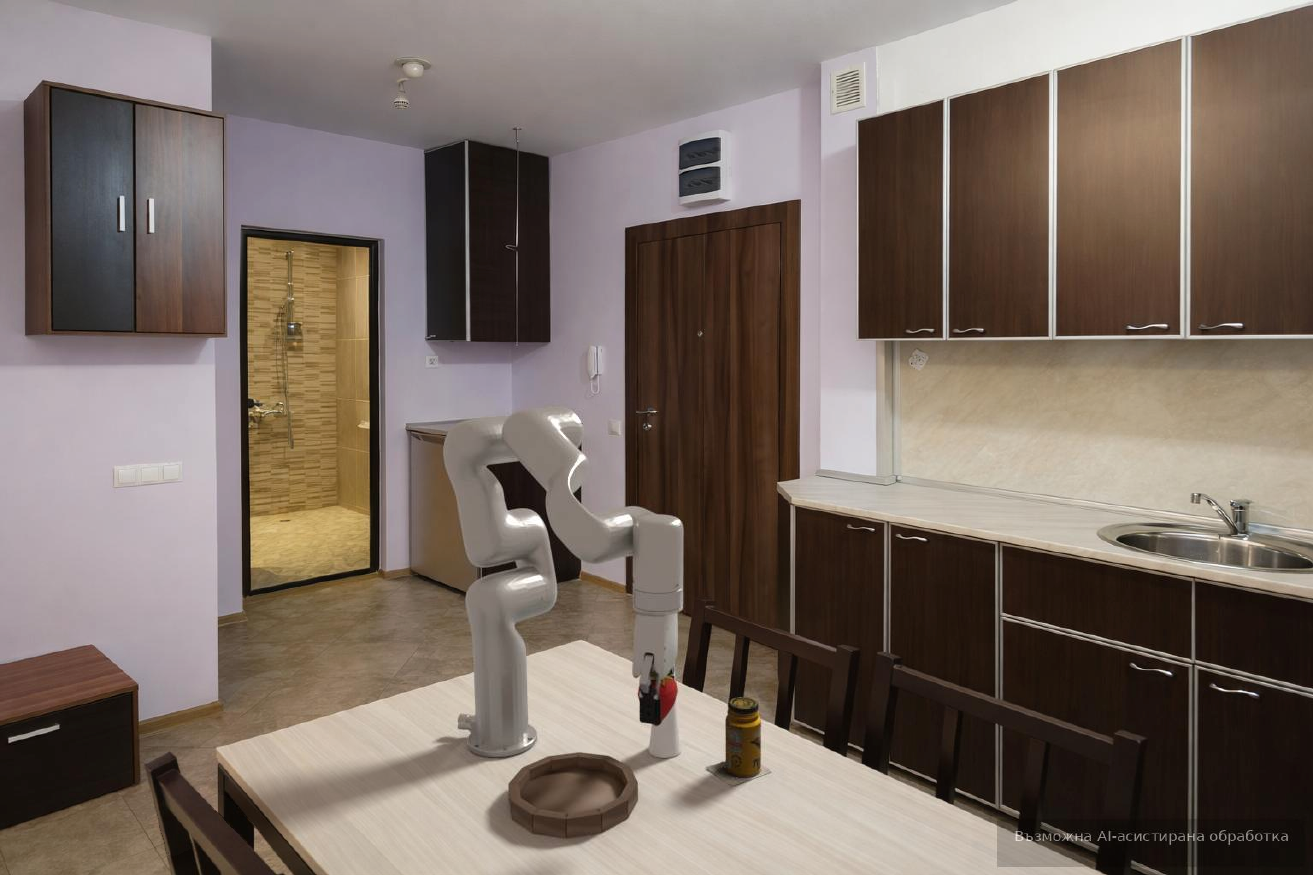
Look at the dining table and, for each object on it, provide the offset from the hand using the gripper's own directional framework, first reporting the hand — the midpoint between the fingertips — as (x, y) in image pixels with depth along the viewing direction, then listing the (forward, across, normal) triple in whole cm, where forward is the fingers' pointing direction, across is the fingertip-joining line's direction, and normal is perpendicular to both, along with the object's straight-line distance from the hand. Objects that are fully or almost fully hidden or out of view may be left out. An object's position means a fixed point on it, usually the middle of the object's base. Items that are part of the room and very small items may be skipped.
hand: (657, 710), depth 126 cm
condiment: (+17, -17, +10) cm, 26 cm away
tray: (+17, -1, -14) cm, 23 cm away
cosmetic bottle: (+18, -21, -4) cm, 28 cm away
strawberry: (+3, 0, 0) cm, 3 cm away
